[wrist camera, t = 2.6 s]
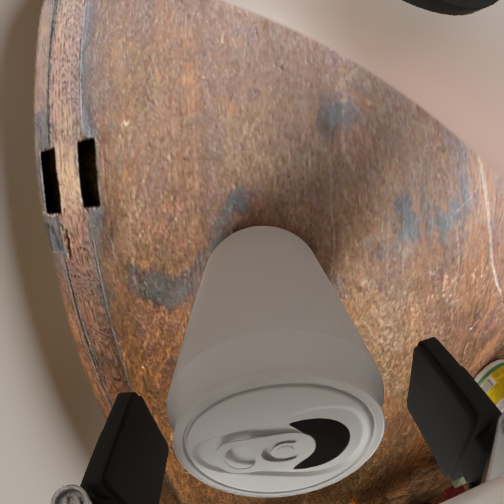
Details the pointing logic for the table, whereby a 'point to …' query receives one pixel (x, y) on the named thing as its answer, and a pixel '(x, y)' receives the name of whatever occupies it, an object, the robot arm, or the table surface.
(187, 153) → the table surface
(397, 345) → the table surface
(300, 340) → the beverage can
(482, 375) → the supplement bottle
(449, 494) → the decorative bird sculpture
